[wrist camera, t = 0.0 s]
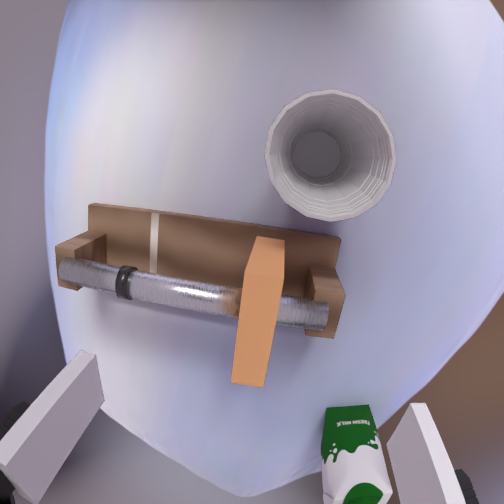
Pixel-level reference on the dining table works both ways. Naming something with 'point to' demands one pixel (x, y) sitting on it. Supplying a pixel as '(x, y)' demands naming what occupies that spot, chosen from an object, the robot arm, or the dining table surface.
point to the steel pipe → (185, 292)
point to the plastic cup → (330, 155)
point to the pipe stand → (206, 252)
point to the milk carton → (353, 458)
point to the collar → (258, 311)
